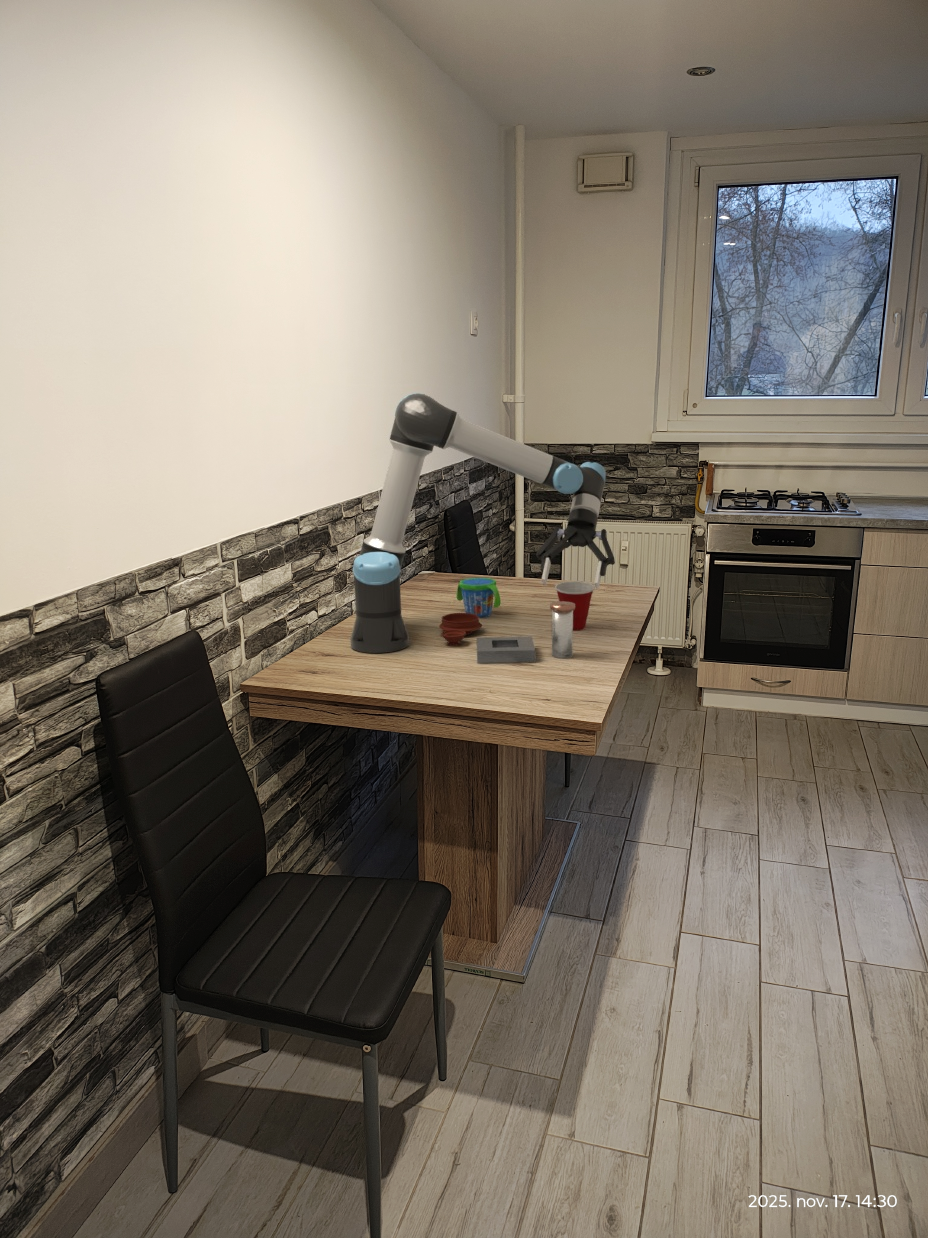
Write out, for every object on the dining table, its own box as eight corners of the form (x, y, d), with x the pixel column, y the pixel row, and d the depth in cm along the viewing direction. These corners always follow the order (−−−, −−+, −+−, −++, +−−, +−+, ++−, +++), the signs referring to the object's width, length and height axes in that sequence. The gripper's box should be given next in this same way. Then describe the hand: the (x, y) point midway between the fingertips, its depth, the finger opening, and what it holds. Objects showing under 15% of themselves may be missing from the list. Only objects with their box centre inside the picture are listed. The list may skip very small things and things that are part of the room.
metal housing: (477, 663, 214) (477, 651, 214) (476, 648, 226) (476, 637, 225) (535, 662, 214) (535, 650, 214) (531, 647, 226) (531, 636, 225)
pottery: (485, 627, 246) (484, 612, 245) (474, 648, 227) (474, 631, 226) (443, 626, 248) (442, 611, 247) (429, 647, 229) (428, 630, 228)
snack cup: (447, 613, 262) (446, 579, 259) (474, 607, 268) (474, 574, 265) (481, 623, 250) (481, 588, 247) (509, 617, 256) (509, 582, 254)
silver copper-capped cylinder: (551, 659, 216) (551, 607, 213) (548, 652, 222) (549, 601, 219) (575, 658, 216) (576, 607, 213) (572, 651, 222) (573, 601, 219)
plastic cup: (553, 633, 239) (554, 589, 236) (554, 622, 249) (555, 580, 246) (594, 633, 237) (595, 589, 234) (594, 623, 248) (594, 581, 245)
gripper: (632, 525, 234) (620, 595, 224) (540, 521, 242) (525, 588, 232) (630, 508, 227) (617, 579, 218) (535, 504, 235) (519, 572, 226)
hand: (569, 584), depth 225 cm, fingers open, 13 cm apart
